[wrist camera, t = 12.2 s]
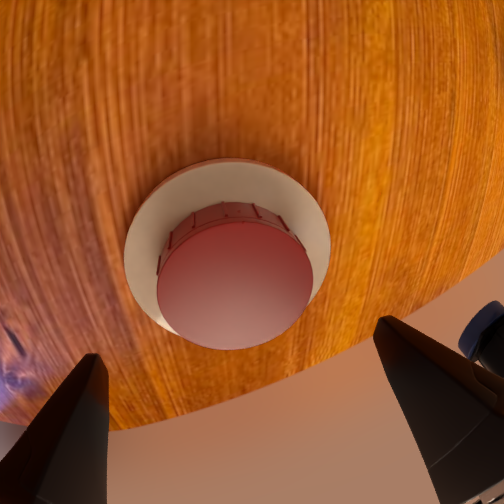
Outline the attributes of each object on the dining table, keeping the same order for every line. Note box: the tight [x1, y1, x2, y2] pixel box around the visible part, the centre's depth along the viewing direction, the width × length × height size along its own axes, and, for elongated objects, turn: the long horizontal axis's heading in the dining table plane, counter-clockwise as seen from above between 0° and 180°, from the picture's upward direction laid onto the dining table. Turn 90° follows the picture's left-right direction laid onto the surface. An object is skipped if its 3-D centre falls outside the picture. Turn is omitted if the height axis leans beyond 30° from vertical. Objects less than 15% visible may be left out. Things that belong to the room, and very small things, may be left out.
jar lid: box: [156, 201, 313, 350], centre depth 12 cm, size 6×6×2 cm
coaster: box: [124, 158, 331, 336], centre depth 13 cm, size 9×9×1 cm
